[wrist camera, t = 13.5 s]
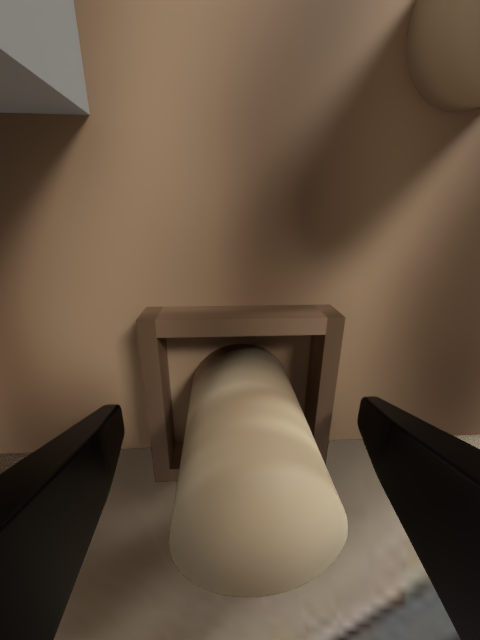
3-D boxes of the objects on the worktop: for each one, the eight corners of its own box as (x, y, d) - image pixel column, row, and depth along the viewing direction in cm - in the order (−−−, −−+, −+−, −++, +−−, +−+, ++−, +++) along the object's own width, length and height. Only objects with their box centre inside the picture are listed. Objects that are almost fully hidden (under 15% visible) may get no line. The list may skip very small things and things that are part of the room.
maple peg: (290, 342, 10) (359, 467, 5) (284, 423, 11) (336, 590, 6) (189, 344, 9) (161, 478, 5) (194, 427, 10) (175, 604, 6)
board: (749, -121, 8) (1019, -292, 5) (529, 412, 13) (603, 460, 11) (-244, -205, 6) (-571, -498, 4) (-16, 432, 12) (-80, 493, 9)
